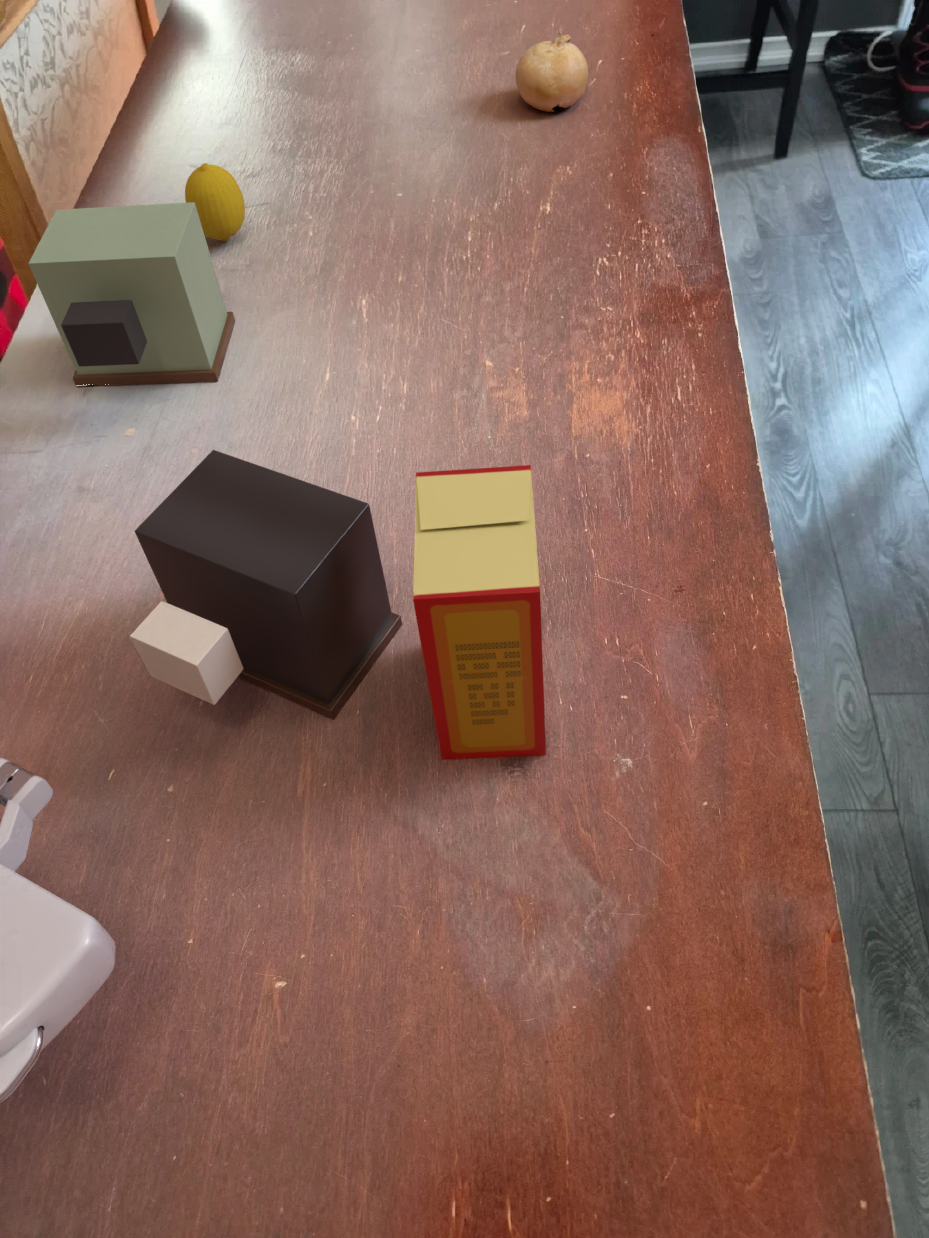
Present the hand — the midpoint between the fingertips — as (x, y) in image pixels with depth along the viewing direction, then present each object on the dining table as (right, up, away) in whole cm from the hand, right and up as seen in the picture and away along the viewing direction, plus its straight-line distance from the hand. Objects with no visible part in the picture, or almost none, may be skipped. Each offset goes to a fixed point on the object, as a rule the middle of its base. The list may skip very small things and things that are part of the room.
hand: (29, 773), depth 55 cm
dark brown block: (-6, +29, +32) cm, 44 cm away
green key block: (-5, +32, +41) cm, 52 cm away
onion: (+32, +66, +65) cm, 98 cm away
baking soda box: (+24, +3, +15) cm, 29 cm away
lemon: (-2, +46, +53) cm, 70 cm away
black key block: (+10, +7, +19) cm, 23 cm away
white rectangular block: (+6, +5, +10) cm, 13 cm away
